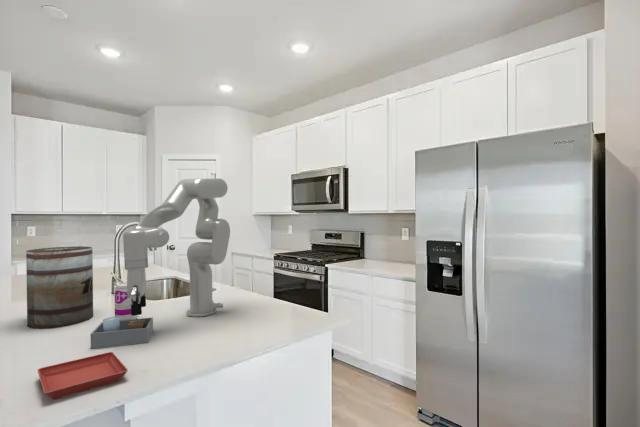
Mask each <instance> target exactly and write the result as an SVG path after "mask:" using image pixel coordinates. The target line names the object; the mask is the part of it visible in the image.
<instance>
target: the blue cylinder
mask: <svg viewBox="0 0 640 427" xmlns="http://www.w3.org/2000/svg"><path fill="white" fill-rule="evenodd" d="M102 322H103V332H109V331H119V330H120V323H119V317H115V316H110V317H105V318H104V319H102Z"/></svg>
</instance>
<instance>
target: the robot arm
mask: <svg viewBox="0 0 640 427" xmlns="http://www.w3.org/2000/svg"><path fill="white" fill-rule="evenodd" d="M228 189H229V188H228V184H227V182H226V181H225V180H224V179H223V178H217V177H216V178H199V177H198V178H186V179H182V180H180V181H178V183H177V184H176V185H175V187H174V188H173V189H172V190H171V192H170V193H169V194H168V196H167V197H166V199H165V200H164V201H163V202H162V203H161V204H160V205H159V206H157V207H155V208H154V209H152V210H151V211H150V212H148V213H147V214H146V215H145V216H143V217H142V218H141V220H140V221H139V222H138V223H137V224H136V226H135V228H134V229H130V230H126V231H124V232H123V235H122V243H123V255H124V256H123V257H124V258H123V259H124V271H127V272H126V274H127V275H126V283H127V297H128V298H130V297H131V315H132V316H134V315H137V316H140V315H142V314H143V311H142V308H145V307H146V306H147V301H146V300H147V299H146V291H147V276H146V274H147V273H146V269H147V268H149V256H148V255H149V254H148V249H149V248H150V249H151V248H152V249H155V248H158V249H159V248H162V247H164V246H166V245H167V244H168V242H169V241H170V234H169V232H168V230H166V229H164V228H163V227H160V226H162V225H164V224H166V223H168V222H171V221H173V220H176V219H178V218H180V217H181V216H183V214H184V213H185V211H186V210H187V208H188V207H189V205H190V204H191V202H192V201H193V200H197V202H198V208H199V209H198V215H197V220H196V225H195V236H196V237H197V238H198V239H200V240H211V242H208V241H207V242H206V241H197V242H193V243H191V244H190V245H189V246H188V248H187V250H186V257H187V260H188V266H189V309H188V310H186V312H185V313H186V316H188V317H193V318H194V317H195V318H198V317H199V318H200V317H206V316H212V315H214V314H215V313H216V312H217V309H219V308H220V309H221V308H222V309H223V308H224V303H223V302H221V303H220V302H217V303H215V302H214V300H213V271H212V268H211V265H221V264H222V263H224V261H225V260H226V256H227V253H228V246H229V241H230V238H231V237H230V236H231V226H230V224H229V222H228V221H227V220H226V219H224V218H219V212H220V211H219V208H220V207H219V205H218V203H217V202H216V200H215V199H217V198H220V199H221V198H223V197H224V196H226V195H227V192H228Z"/></svg>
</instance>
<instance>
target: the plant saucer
mask: <svg viewBox="0 0 640 427" xmlns="http://www.w3.org/2000/svg"><path fill="white" fill-rule="evenodd" d="M128 370H129V369H128V368H127V367H126V366H125V364H123V362H122V361H121V360H120V359H119V358H118V356H117V355H116V353H114V352H113V351H109V352H104V353H101V354H96V355H91V356H86V357H82V358H79V359H73V360H70V361H65V362H61V363H57V364H53V365H48V366H44V367H40V368H38V369H37V375H38V377H39V380H40V384H41V387H42V391H43V394H44V395H46V396H47V397H48V398H50V399H51V400H57V399H61V398H64V397H67V396H72V395H74V394H78V393H81V392H85V391H88V390H91V389H95V388H99V387H102V386H105V385H109V384H113V383H116V382H119V381H121V379H122V378H123V377H124V376H125V375H126V374H127V372H128Z"/></svg>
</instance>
